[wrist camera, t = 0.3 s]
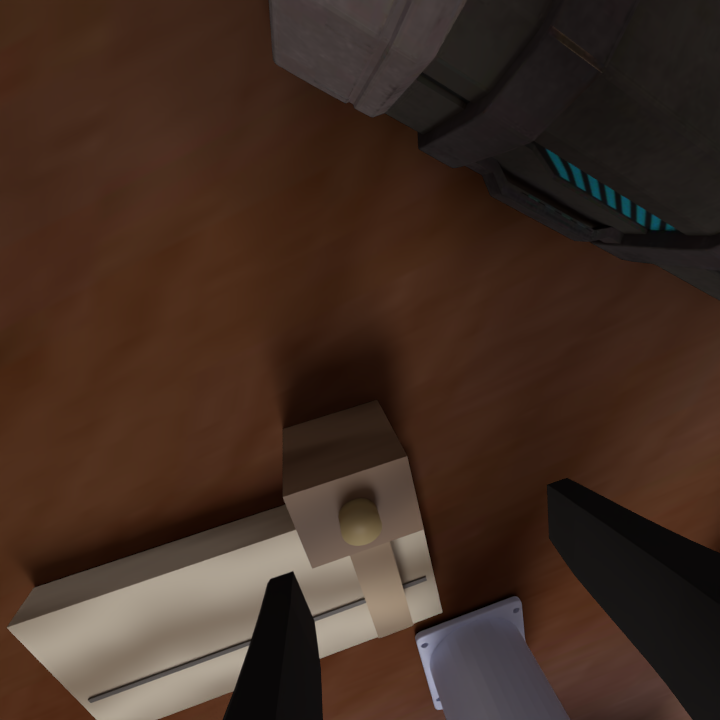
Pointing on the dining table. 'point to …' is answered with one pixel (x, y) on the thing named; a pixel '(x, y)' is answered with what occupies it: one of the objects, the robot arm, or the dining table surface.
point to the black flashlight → (544, 106)
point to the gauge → (353, 501)
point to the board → (196, 614)
